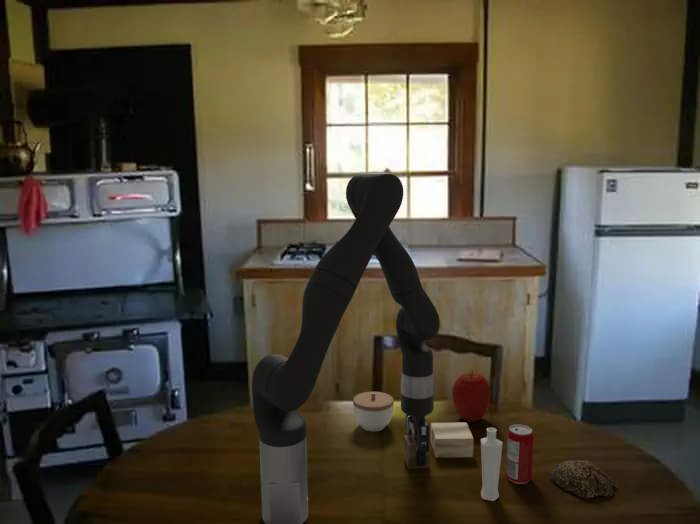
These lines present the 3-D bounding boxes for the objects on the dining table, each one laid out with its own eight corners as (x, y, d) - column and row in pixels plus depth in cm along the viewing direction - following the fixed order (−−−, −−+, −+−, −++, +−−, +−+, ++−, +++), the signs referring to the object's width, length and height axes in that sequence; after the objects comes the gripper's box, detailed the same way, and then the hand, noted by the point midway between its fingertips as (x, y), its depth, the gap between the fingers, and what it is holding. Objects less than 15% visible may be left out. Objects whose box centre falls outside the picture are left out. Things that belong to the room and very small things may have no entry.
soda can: (534, 476, 142) (536, 425, 140) (527, 487, 138) (530, 435, 135) (510, 470, 145) (511, 420, 143) (502, 480, 140) (504, 430, 138)
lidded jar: (348, 432, 165) (347, 398, 163) (359, 416, 175) (359, 383, 173) (388, 437, 162) (388, 403, 160) (397, 420, 172) (397, 387, 170)
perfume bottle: (484, 487, 138) (486, 423, 135) (503, 494, 135) (505, 428, 132) (474, 496, 134) (475, 430, 131) (493, 503, 131) (495, 436, 129)
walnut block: (429, 467, 147) (429, 443, 145) (408, 469, 146) (408, 445, 145) (424, 457, 151) (424, 434, 150) (404, 458, 151) (404, 435, 150)
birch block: (473, 458, 151) (473, 438, 150) (435, 458, 151) (435, 438, 150) (466, 440, 160) (466, 422, 159) (430, 441, 160) (430, 422, 159)
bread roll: (542, 476, 143) (543, 455, 142) (586, 466, 147) (587, 446, 146) (581, 505, 131) (582, 483, 130) (628, 493, 135) (629, 472, 134)
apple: (487, 411, 177) (489, 364, 174) (492, 427, 167) (494, 377, 165) (450, 410, 178) (451, 363, 175) (452, 426, 168) (453, 376, 166)
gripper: (441, 402, 139) (440, 470, 142) (426, 379, 153) (425, 441, 156) (407, 404, 138) (407, 472, 141) (395, 380, 152) (395, 443, 155)
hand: (416, 456), depth 148 cm, fingers open, 8 cm apart
